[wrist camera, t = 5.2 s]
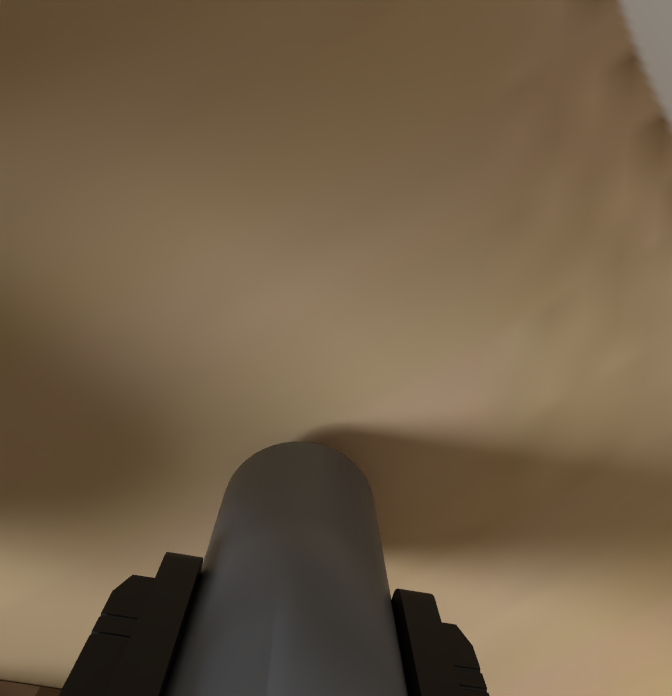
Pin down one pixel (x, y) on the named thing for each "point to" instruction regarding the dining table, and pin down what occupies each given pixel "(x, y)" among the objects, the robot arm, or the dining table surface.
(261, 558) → the peg
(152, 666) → the robot arm
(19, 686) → the socket
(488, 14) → the dining table surface
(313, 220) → the dining table surface
